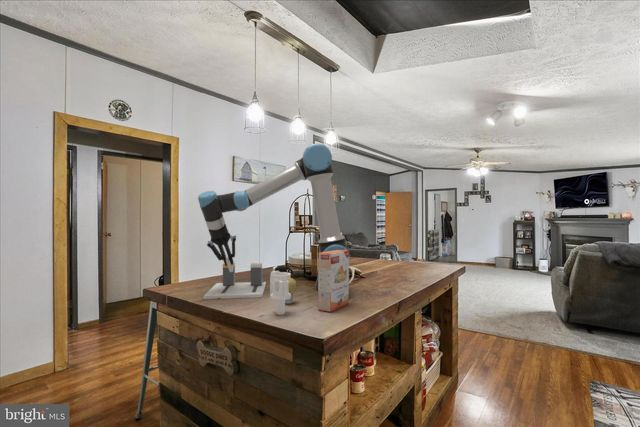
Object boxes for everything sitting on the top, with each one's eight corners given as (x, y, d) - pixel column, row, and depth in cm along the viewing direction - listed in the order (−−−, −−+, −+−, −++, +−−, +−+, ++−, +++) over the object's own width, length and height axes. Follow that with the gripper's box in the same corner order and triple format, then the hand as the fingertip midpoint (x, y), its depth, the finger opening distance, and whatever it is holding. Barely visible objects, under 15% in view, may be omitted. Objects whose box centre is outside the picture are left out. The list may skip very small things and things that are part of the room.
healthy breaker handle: (261, 285, 156) (261, 264, 156) (250, 285, 155) (250, 264, 155) (262, 283, 160) (262, 262, 160) (251, 283, 159) (251, 263, 159)
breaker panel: (262, 297, 139) (262, 294, 139) (203, 299, 137) (203, 295, 137) (266, 284, 165) (266, 281, 165) (216, 285, 163) (216, 282, 163)
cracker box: (331, 313, 117) (331, 253, 117) (317, 310, 120) (317, 252, 120) (350, 303, 128) (349, 249, 128) (336, 301, 132) (336, 249, 132)
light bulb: (278, 305, 127) (278, 279, 127) (282, 300, 133) (282, 275, 134) (294, 305, 126) (294, 279, 126) (298, 301, 133) (298, 276, 133)
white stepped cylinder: (266, 312, 117) (266, 270, 117) (284, 309, 121) (283, 268, 121) (277, 317, 112) (276, 273, 112) (294, 313, 116) (294, 270, 116)
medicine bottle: (289, 291, 149) (289, 265, 149) (286, 295, 142) (286, 267, 142) (273, 291, 150) (273, 264, 150) (269, 295, 143) (269, 267, 143)
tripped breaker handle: (233, 285, 156) (233, 264, 156) (222, 285, 155) (222, 264, 155) (235, 283, 160) (234, 262, 160) (224, 284, 159) (224, 263, 159)
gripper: (232, 219, 147) (245, 262, 157) (202, 225, 145) (218, 268, 156) (231, 227, 140) (245, 271, 151) (200, 233, 139) (216, 278, 150)
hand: (231, 270), depth 153 cm, fingers closed
